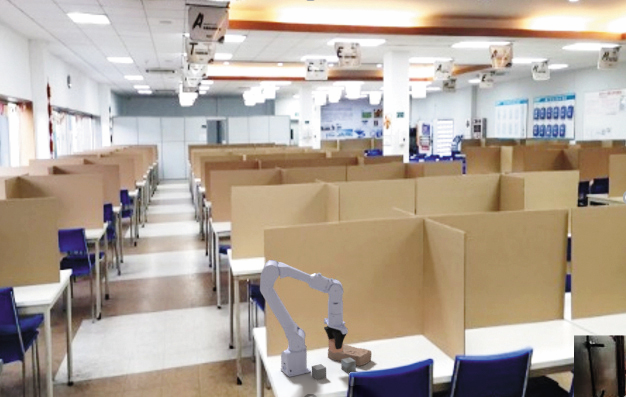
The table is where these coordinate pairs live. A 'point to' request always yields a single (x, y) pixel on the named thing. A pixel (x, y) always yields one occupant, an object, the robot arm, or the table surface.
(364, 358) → the brick
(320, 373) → the gray block
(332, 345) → the terracotta block
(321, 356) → the table surface
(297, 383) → the table surface
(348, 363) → the slate block
